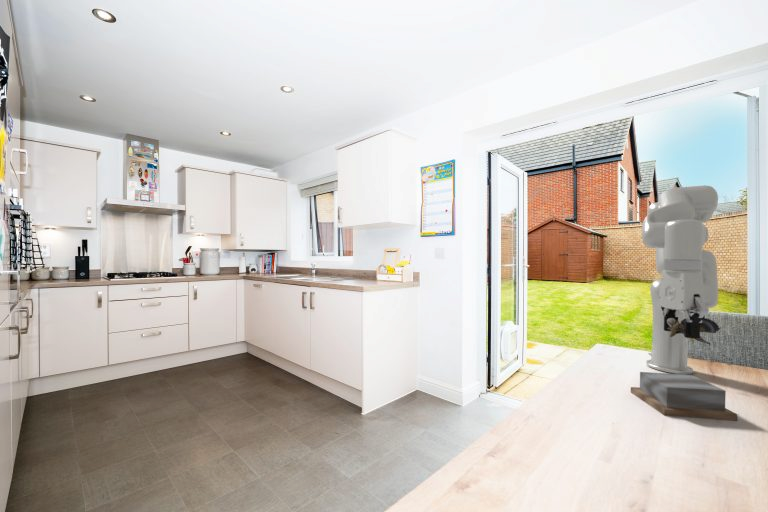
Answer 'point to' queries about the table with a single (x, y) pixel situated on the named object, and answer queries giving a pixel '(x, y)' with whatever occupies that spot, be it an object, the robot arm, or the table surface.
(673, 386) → the pedestal
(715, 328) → the eagle figurine
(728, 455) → the table surface
